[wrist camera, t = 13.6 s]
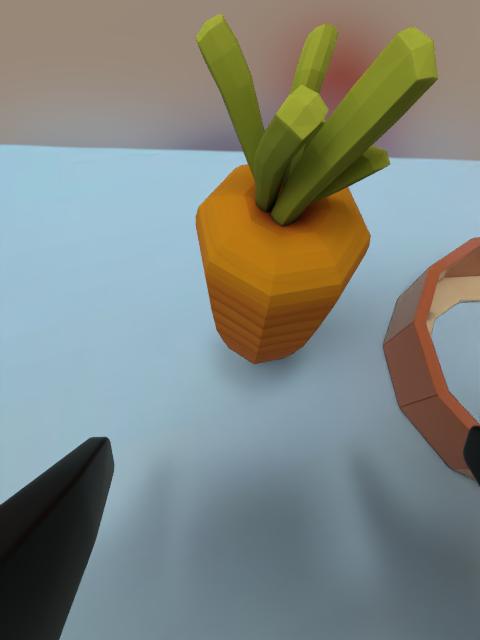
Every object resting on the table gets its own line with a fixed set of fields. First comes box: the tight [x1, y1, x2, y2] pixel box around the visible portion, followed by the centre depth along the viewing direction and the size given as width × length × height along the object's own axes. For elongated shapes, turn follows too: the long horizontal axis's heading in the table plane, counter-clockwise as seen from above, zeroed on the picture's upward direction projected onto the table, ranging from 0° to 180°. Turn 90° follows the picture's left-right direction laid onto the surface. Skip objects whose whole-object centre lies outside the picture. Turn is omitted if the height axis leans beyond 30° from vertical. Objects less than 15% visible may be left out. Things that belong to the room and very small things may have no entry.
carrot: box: [195, 14, 438, 364], centre depth 11 cm, size 5×5×15 cm
